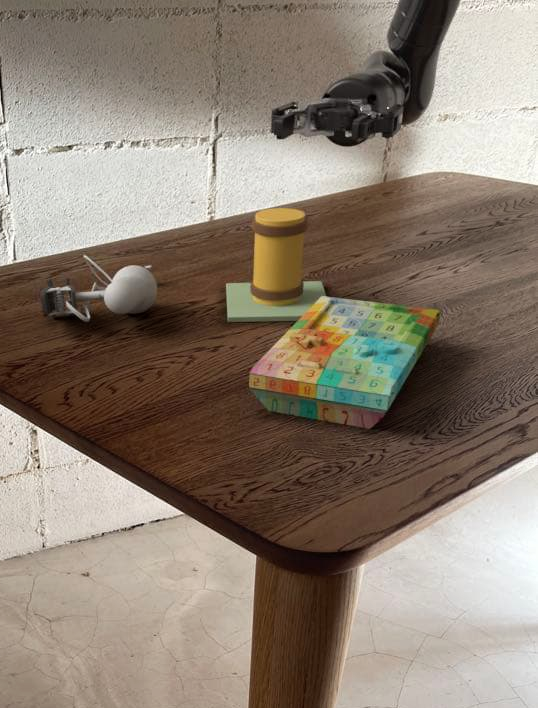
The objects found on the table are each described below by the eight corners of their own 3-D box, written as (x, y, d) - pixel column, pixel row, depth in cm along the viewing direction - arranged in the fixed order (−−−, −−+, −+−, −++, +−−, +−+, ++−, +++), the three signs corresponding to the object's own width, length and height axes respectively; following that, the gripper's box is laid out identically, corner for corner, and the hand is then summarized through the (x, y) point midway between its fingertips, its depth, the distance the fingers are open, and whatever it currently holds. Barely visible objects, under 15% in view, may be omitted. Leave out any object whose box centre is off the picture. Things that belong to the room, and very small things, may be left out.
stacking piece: (312, 295, 97) (318, 211, 92) (283, 310, 93) (288, 224, 88) (269, 285, 100) (272, 204, 95) (239, 300, 97) (241, 216, 92)
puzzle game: (249, 363, 72) (321, 287, 87) (247, 414, 75) (318, 332, 89) (390, 385, 68) (442, 301, 82) (383, 438, 70) (435, 348, 85)
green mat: (321, 286, 101) (321, 280, 101) (332, 320, 92) (332, 315, 92) (226, 288, 102) (226, 283, 102) (227, 322, 93) (227, 317, 93)
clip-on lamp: (78, 309, 107) (34, 331, 91) (71, 255, 105) (25, 267, 88) (172, 301, 104) (145, 322, 88) (168, 245, 102) (138, 257, 86)
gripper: (304, 72, 107) (256, 91, 96) (422, 73, 102) (385, 93, 90) (301, 138, 112) (254, 164, 100) (413, 142, 106) (377, 170, 94)
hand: (316, 130), depth 95 cm, fingers open, 8 cm apart
